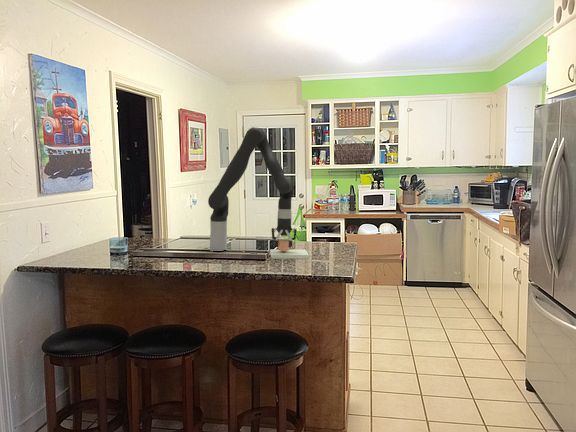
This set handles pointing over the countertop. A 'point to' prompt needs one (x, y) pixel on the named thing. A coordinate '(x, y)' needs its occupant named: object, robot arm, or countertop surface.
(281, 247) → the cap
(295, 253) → the post board
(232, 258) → the countertop surface
